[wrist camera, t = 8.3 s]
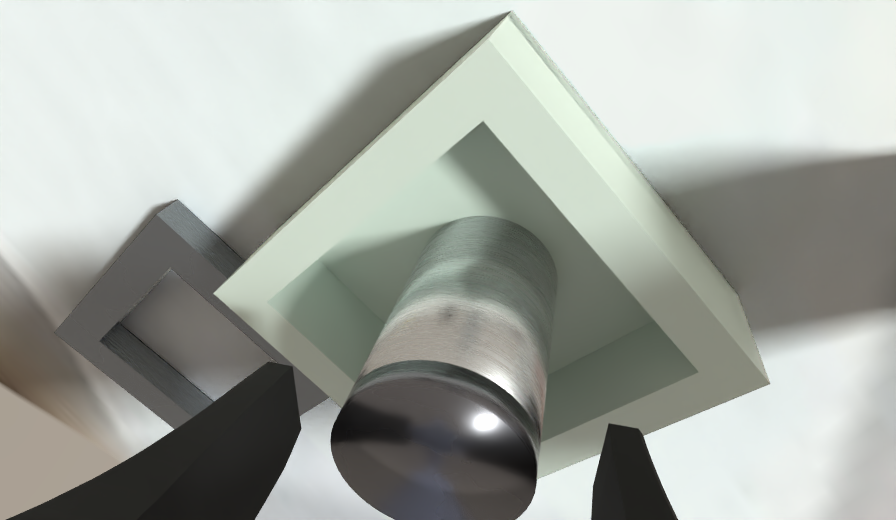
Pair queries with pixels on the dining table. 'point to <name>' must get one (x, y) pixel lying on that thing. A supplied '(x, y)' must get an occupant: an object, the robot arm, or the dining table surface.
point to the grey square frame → (129, 281)
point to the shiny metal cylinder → (456, 381)
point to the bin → (539, 211)
